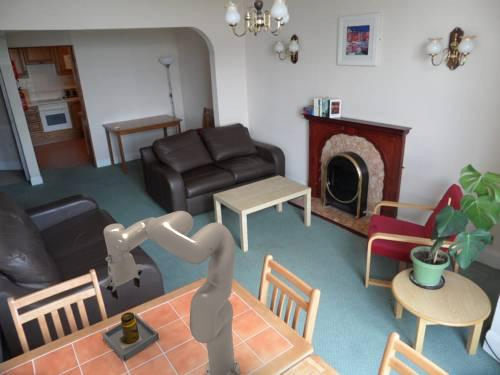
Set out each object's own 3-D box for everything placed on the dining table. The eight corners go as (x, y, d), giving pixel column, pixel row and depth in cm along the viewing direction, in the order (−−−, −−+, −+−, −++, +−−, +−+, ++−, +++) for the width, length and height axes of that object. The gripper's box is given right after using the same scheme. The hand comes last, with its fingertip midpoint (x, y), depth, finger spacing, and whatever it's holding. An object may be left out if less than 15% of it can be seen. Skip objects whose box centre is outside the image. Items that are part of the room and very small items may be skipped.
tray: (159, 338, 156) (158, 333, 155) (124, 361, 146) (123, 355, 145) (137, 319, 168) (135, 314, 167) (103, 339, 158) (102, 333, 157)
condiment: (142, 340, 156) (138, 317, 151) (122, 349, 151) (117, 326, 147) (136, 330, 161) (132, 307, 157) (117, 339, 157) (112, 316, 152)
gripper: (102, 268, 135) (111, 306, 141) (143, 248, 147) (150, 285, 153) (93, 261, 140) (101, 298, 146) (133, 243, 152) (140, 278, 158)
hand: (126, 291), depth 149 cm, fingers open, 9 cm apart
